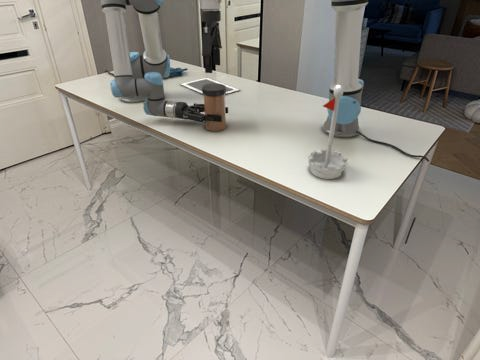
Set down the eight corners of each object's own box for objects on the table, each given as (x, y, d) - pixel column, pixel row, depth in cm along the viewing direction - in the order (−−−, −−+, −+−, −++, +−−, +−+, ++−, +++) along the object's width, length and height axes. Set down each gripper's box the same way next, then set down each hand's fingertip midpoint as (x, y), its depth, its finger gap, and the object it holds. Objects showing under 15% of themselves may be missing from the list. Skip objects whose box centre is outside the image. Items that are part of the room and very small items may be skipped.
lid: (225, 96, 141) (224, 90, 139) (201, 96, 141) (200, 90, 140) (226, 88, 149) (226, 83, 148) (203, 88, 149) (203, 83, 148)
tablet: (180, 84, 205) (180, 83, 205) (207, 78, 216) (207, 77, 216) (211, 98, 184) (211, 97, 184) (240, 90, 196) (240, 89, 195)
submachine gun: (172, 62, 238) (192, 67, 221) (173, 67, 240) (192, 73, 223) (126, 71, 219) (143, 77, 202) (127, 77, 221) (145, 84, 204)
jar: (225, 131, 150) (224, 91, 140) (204, 131, 150) (201, 91, 140) (226, 122, 157) (225, 84, 148) (206, 122, 158) (204, 84, 148)
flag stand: (330, 158, 128) (344, 79, 112) (352, 176, 118) (370, 92, 102) (300, 165, 124) (309, 84, 108) (320, 183, 114) (333, 97, 98)
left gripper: (187, 109, 165) (231, 113, 160) (168, 127, 147) (217, 132, 142) (185, 94, 161) (231, 97, 156) (166, 110, 143) (216, 115, 138)
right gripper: (211, 14, 117) (213, 77, 129) (227, 6, 137) (228, 62, 148) (190, 13, 119) (195, 76, 130) (210, 6, 138) (212, 61, 150)
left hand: (224, 114), depth 149 cm, fingers closed on jar, 9 cm apart
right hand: (213, 68), depth 139 cm, fingers open, 11 cm apart
